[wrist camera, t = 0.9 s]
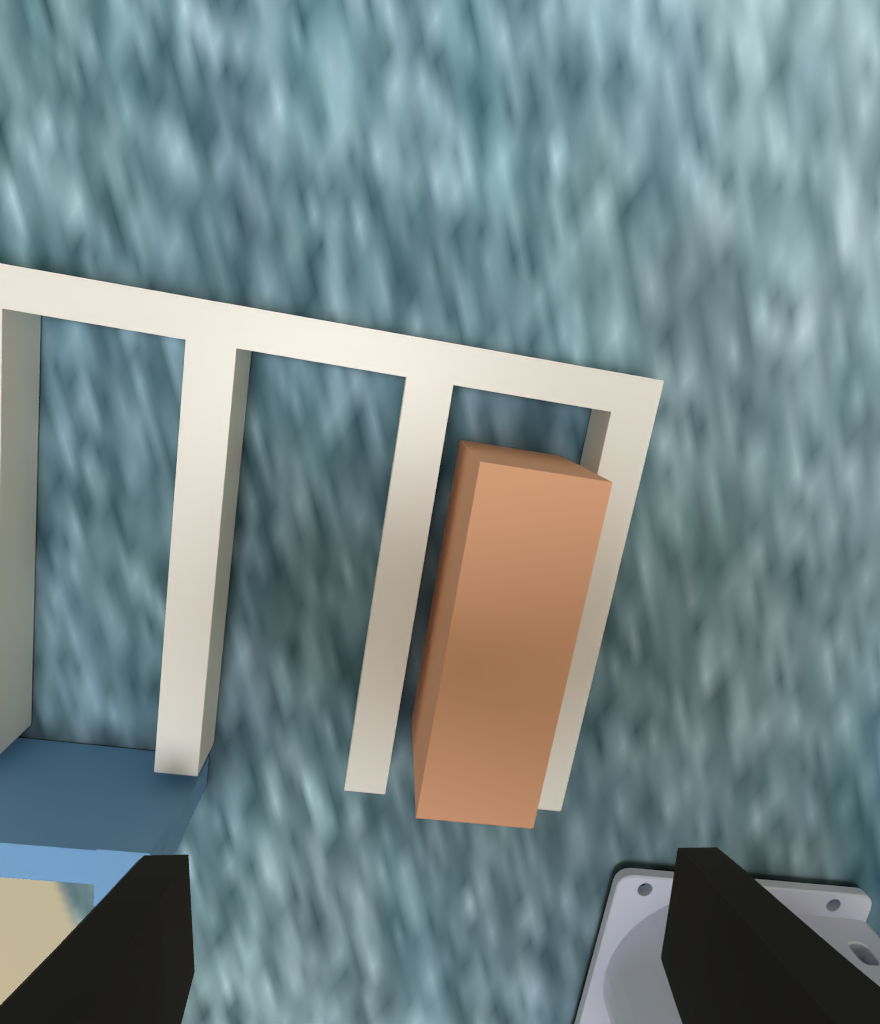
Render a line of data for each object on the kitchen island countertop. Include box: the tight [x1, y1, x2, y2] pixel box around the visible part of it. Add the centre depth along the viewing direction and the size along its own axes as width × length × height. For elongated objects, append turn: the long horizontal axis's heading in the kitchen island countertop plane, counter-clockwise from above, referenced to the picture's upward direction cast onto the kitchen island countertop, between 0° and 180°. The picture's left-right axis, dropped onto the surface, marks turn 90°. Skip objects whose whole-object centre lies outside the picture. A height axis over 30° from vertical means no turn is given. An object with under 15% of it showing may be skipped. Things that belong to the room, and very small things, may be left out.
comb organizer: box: [0, 263, 664, 811], centre depth 17 cm, size 17×13×2 cm
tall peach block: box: [412, 440, 613, 829], centre depth 16 cm, size 3×9×4 cm, turn 171°
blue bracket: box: [0, 738, 209, 906], centre depth 16 cm, size 6×2×5 cm, turn 80°
